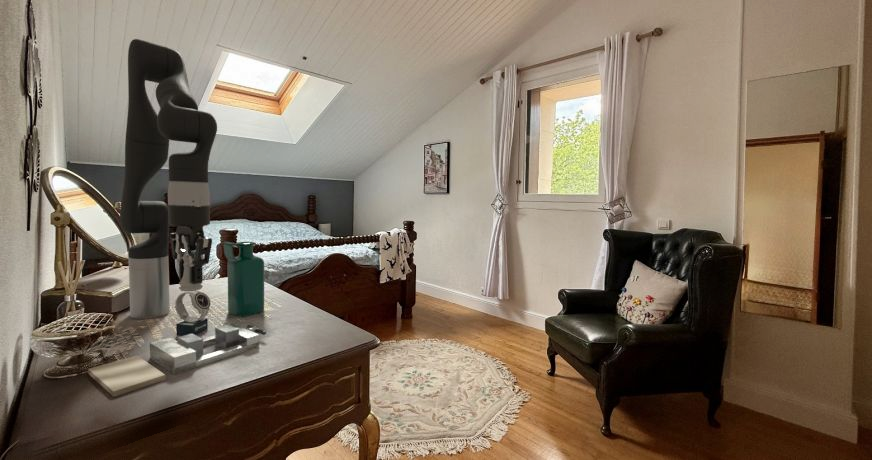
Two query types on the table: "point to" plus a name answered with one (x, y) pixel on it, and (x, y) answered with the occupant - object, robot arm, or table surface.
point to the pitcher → (244, 280)
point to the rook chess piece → (188, 277)
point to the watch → (192, 324)
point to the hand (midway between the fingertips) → (190, 281)
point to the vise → (191, 347)
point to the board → (126, 375)
